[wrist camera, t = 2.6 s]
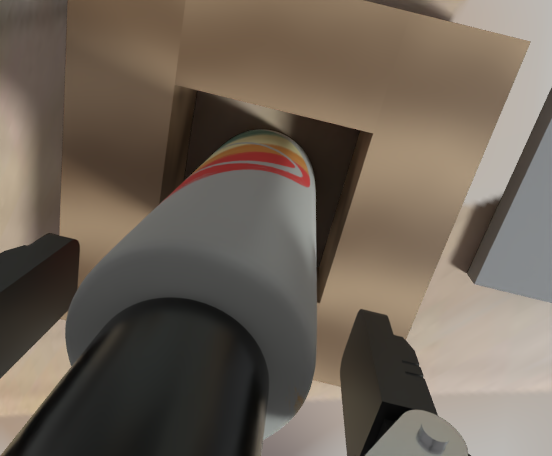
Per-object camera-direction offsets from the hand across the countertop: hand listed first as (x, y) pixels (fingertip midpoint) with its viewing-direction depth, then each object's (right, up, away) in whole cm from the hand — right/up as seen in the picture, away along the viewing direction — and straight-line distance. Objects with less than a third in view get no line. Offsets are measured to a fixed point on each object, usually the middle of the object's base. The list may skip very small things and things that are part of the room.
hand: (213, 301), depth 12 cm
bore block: (+1, +5, +11) cm, 12 cm away
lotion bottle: (+1, +5, +11) cm, 13 cm away
